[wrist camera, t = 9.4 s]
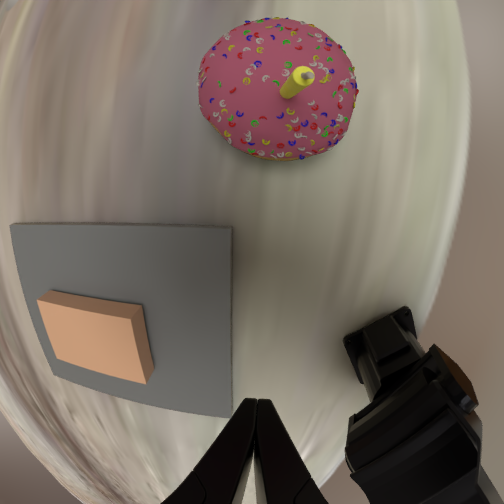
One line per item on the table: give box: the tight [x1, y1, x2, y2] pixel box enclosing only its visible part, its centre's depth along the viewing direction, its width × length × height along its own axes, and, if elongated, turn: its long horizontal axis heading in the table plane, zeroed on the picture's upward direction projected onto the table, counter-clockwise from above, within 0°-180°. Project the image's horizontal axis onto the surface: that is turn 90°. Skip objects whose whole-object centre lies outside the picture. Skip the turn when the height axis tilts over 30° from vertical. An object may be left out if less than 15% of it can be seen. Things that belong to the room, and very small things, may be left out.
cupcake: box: [196, 17, 359, 161], centre depth 11 cm, size 9×8×12 cm
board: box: [10, 223, 232, 418], centre depth 23 cm, size 24×20×1 cm
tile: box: [37, 290, 154, 384], centre depth 21 cm, size 2×7×11 cm
